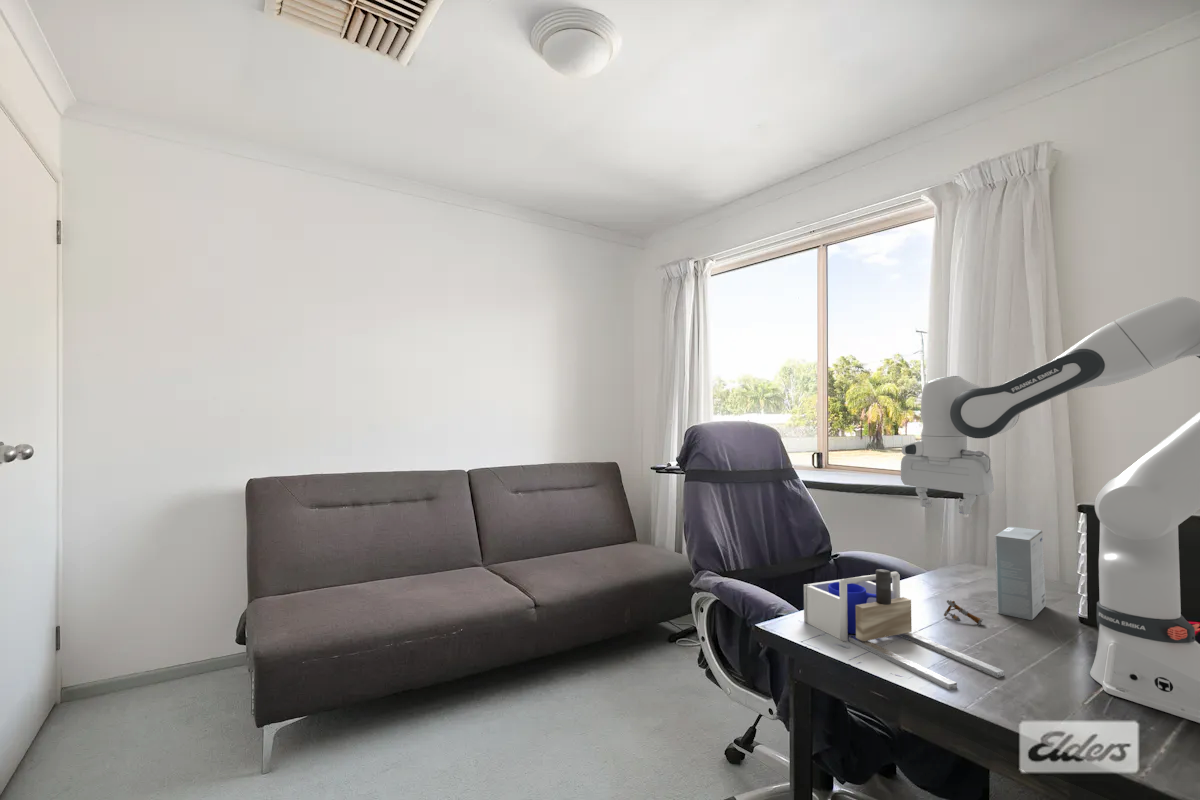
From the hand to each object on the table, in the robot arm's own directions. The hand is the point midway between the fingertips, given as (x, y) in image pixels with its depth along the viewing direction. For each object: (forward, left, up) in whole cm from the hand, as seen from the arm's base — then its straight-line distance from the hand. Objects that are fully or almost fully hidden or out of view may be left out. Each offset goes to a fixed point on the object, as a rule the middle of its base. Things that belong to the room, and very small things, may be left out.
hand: (944, 510), depth 127 cm
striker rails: (-4, +13, -29) cm, 32 cm away
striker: (+5, +13, -28) cm, 31 cm away
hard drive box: (+7, -36, -29) cm, 47 cm away
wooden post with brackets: (+7, -15, -30) cm, 33 cm away
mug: (+12, +15, -29) cm, 35 cm away
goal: (+15, +13, -29) cm, 35 cm away
